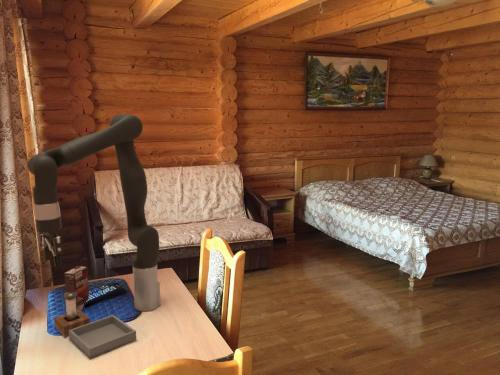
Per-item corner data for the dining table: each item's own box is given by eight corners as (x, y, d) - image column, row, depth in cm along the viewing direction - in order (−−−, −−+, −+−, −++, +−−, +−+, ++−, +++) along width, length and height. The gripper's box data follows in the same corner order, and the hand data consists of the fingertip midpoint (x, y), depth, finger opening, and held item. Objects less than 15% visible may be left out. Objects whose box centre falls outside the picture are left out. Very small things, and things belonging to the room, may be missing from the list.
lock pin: (76, 324, 153) (73, 289, 151) (80, 328, 150) (78, 293, 148) (64, 328, 150) (61, 293, 148) (69, 332, 147) (66, 296, 145)
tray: (113, 323, 154) (113, 314, 153) (136, 340, 142) (135, 331, 142) (69, 339, 142) (68, 330, 142) (90, 359, 131) (89, 349, 131)
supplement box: (77, 313, 161) (74, 274, 158) (65, 312, 162) (63, 273, 159) (90, 304, 169) (87, 266, 166) (79, 302, 170) (76, 265, 167)
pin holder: (79, 319, 156) (79, 309, 156) (90, 328, 150) (89, 317, 149) (54, 328, 150) (53, 317, 149) (64, 337, 144) (63, 326, 143)
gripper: (68, 217, 136) (73, 265, 139) (51, 210, 145) (56, 254, 149) (44, 222, 130) (49, 271, 134) (28, 214, 140) (33, 260, 143)
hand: (53, 262), depth 141 cm, fingers open, 8 cm apart
